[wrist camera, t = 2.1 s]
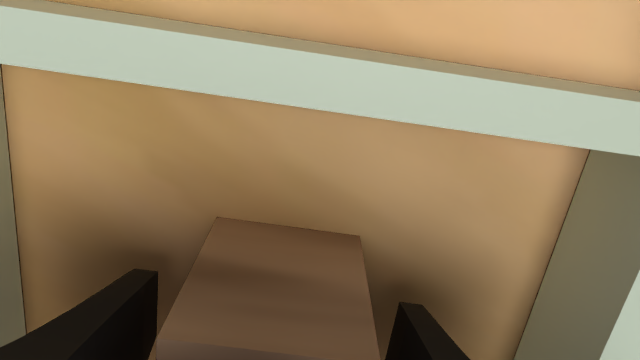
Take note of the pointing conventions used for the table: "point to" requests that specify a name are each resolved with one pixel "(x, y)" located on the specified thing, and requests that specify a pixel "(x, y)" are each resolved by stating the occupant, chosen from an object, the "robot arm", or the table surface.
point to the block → (272, 298)
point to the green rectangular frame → (384, 103)
